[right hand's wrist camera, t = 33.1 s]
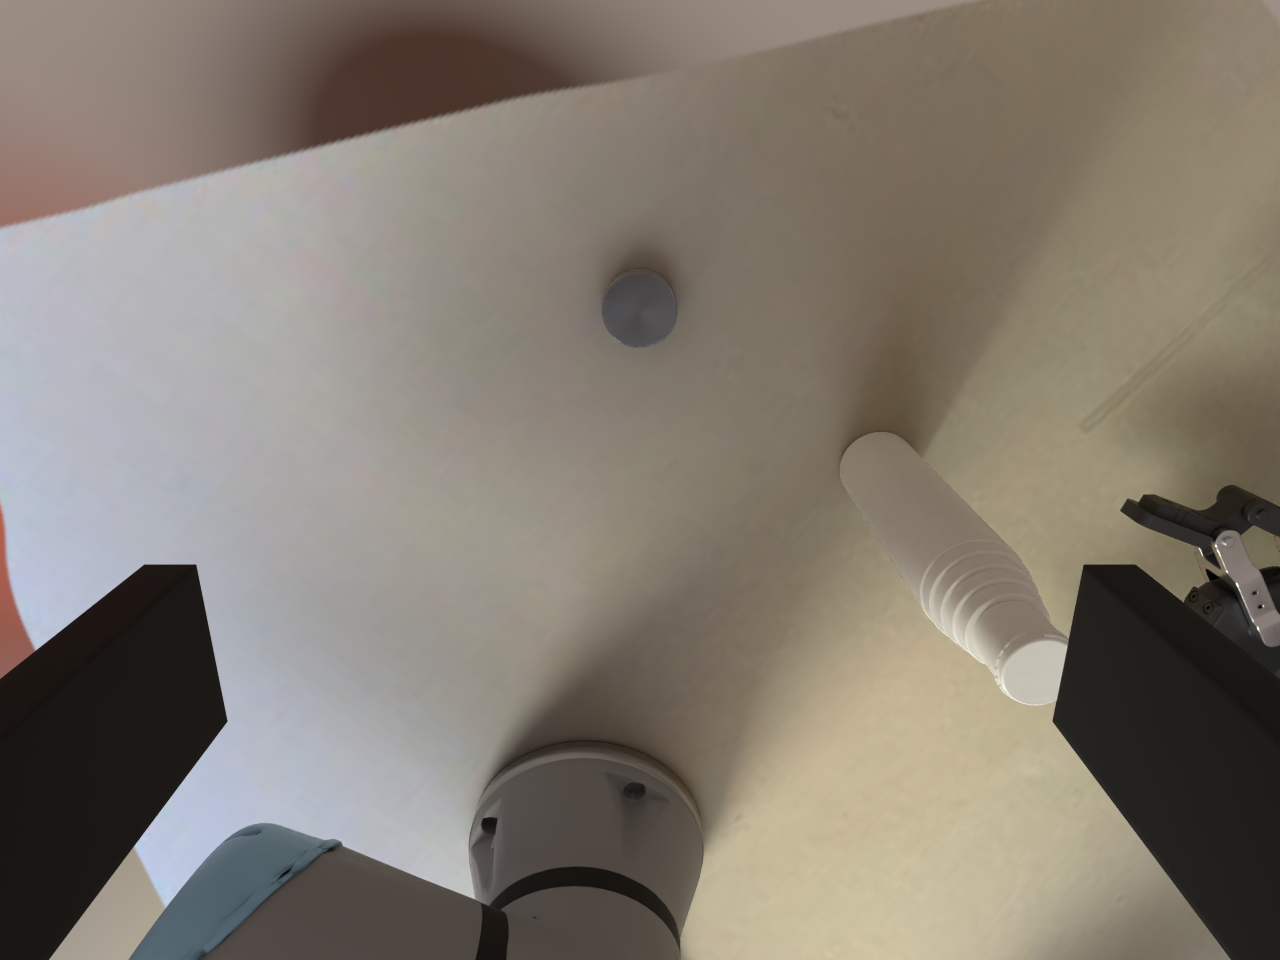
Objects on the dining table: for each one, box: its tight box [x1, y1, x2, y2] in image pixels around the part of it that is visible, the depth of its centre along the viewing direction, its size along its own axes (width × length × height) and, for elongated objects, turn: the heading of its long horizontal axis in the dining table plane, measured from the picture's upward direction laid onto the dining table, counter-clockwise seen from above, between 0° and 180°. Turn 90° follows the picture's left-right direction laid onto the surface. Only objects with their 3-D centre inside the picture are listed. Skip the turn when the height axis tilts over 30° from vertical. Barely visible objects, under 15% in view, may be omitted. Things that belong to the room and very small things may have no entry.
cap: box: [602, 268, 677, 348], centre depth 44 cm, size 4×4×2 cm
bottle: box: [839, 432, 1069, 705], centre depth 38 cm, size 4×4×21 cm
